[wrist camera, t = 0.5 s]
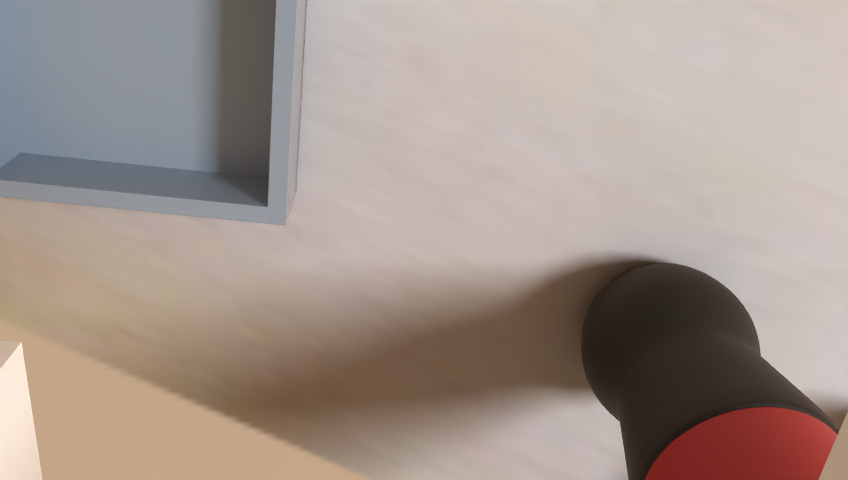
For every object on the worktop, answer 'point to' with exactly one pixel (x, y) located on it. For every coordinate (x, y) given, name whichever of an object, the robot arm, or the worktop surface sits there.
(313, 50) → the worktop surface
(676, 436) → the cola bottle
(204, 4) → the bin
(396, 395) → the worktop surface
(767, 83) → the worktop surface
